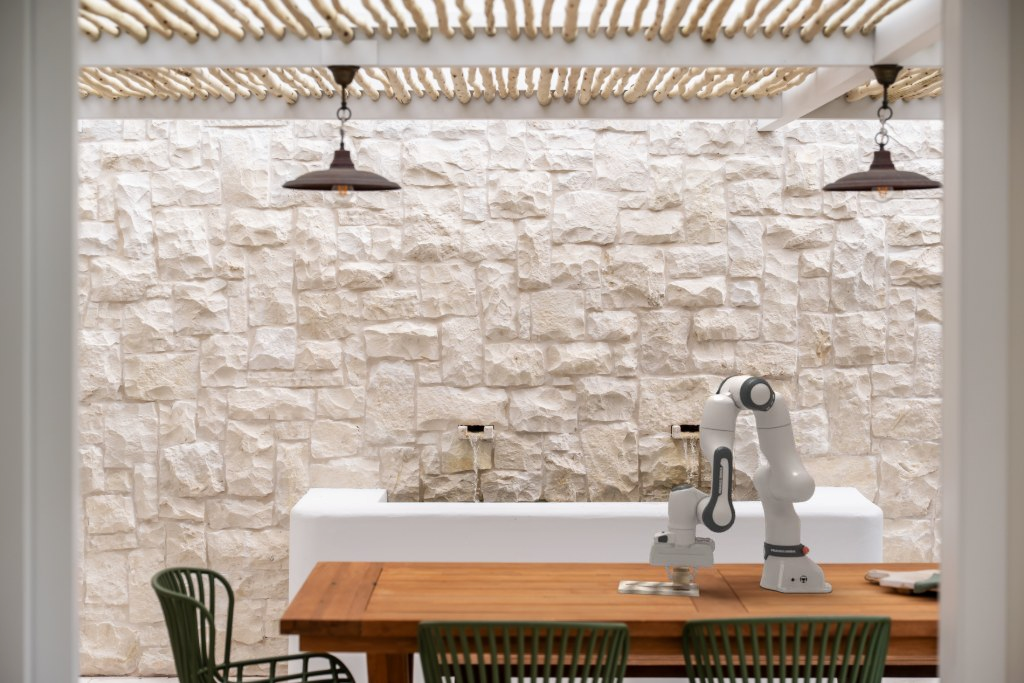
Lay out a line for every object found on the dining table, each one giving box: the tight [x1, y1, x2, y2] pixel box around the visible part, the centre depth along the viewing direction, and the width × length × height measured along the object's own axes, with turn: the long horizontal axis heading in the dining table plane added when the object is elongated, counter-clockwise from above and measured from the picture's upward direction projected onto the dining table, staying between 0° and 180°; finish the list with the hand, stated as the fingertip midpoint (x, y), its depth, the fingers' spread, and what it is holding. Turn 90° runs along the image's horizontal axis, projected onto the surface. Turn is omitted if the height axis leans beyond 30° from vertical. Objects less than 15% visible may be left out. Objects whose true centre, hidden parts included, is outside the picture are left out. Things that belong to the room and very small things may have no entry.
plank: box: [617, 579, 700, 597], centre depth 352 cm, size 25×13×1 cm, turn 82°
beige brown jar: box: [672, 566, 691, 589], centre depth 351 cm, size 5×9×5 cm, turn 172°
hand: (681, 580), depth 351 cm, fingers closed on beige brown jar, 5 cm apart
